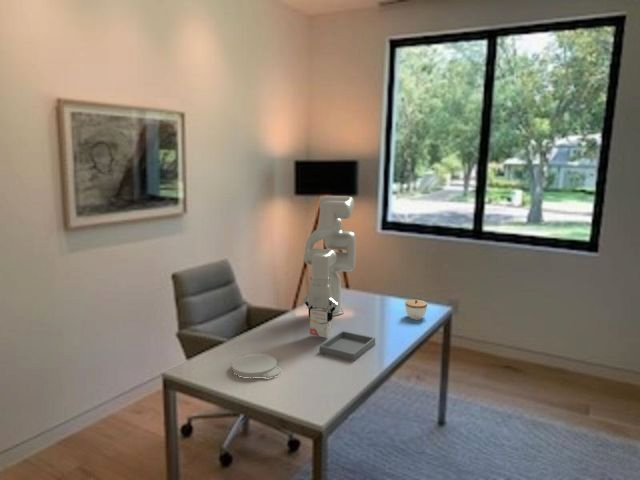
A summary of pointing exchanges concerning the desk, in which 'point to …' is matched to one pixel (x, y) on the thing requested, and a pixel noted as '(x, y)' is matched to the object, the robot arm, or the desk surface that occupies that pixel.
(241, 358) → the lid
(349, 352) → the tray
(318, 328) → the ink cartridge box
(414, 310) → the lidded jar
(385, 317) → the desk surface
